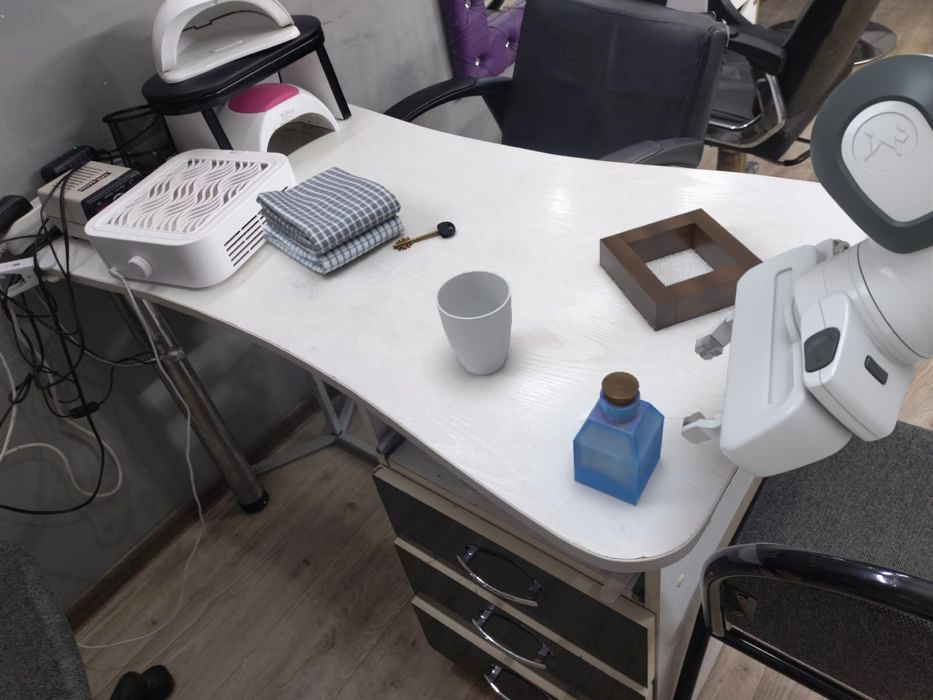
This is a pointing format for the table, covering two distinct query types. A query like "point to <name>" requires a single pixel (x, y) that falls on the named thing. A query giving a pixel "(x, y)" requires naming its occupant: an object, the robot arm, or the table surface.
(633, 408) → the perfume bottle
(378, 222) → the towel
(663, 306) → the stand
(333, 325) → the table surface
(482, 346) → the cup
